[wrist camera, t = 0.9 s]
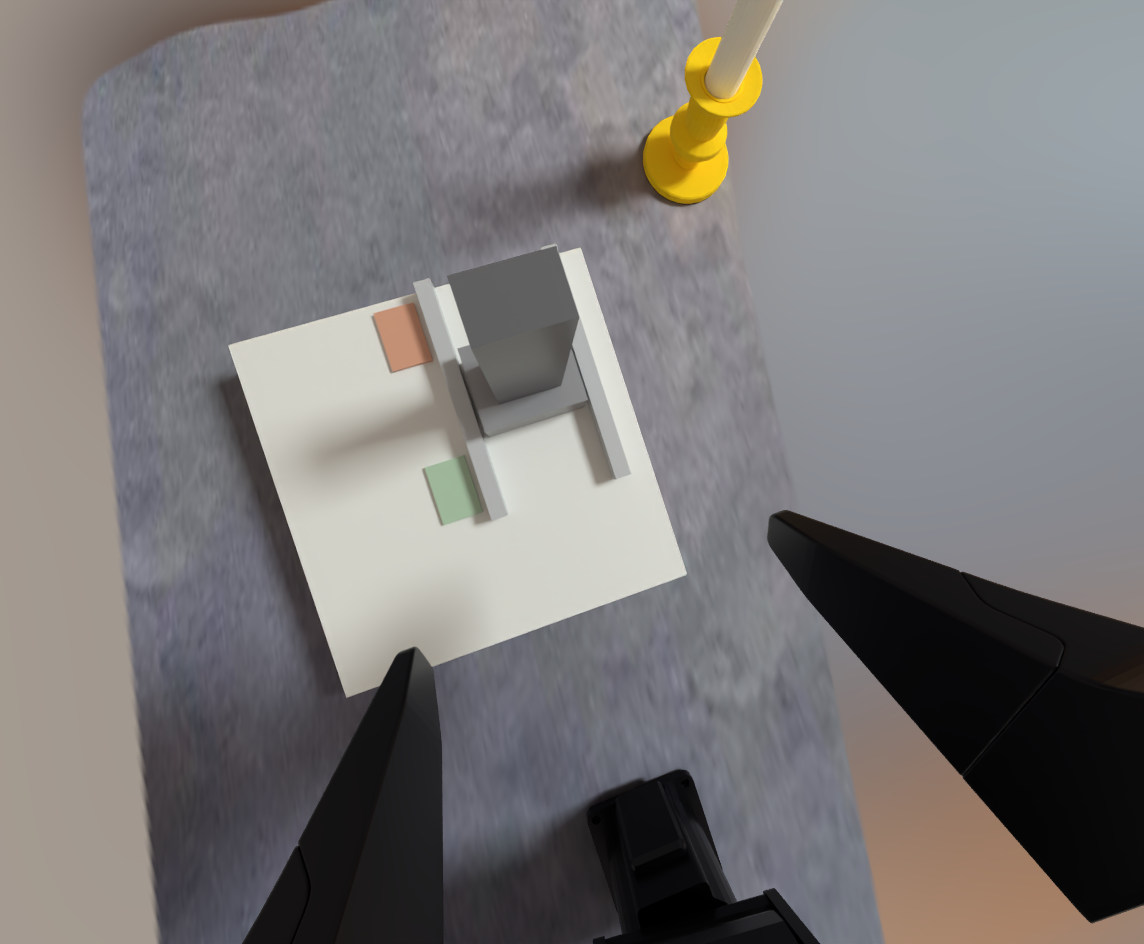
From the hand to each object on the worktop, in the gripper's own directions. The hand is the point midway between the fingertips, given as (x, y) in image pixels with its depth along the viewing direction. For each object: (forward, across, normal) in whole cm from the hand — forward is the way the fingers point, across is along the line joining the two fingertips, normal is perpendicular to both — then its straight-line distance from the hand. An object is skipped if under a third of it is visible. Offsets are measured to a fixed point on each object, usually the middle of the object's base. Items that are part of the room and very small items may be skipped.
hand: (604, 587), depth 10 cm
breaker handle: (+14, 0, 0) cm, 14 cm away
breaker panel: (+14, +3, +4) cm, 15 cm away
